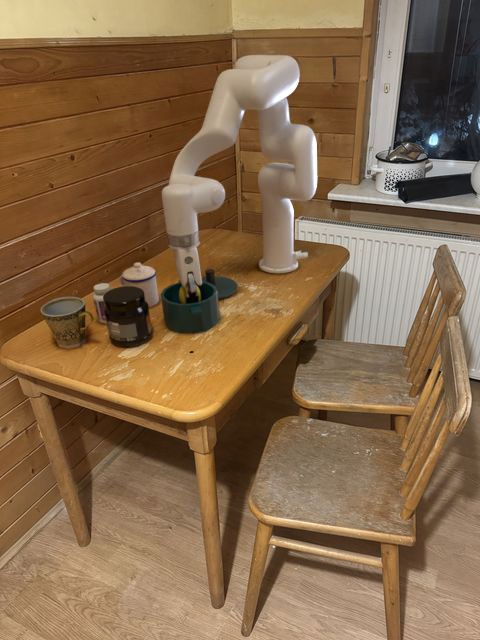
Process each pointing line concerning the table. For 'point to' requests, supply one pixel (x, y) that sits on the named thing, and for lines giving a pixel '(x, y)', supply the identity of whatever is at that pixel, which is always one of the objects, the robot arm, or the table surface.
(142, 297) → the supplement container
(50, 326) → the ceramic cup
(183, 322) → the cooker
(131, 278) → the teacup with lid
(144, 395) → the table surface
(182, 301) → the lemon
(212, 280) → the cooker lid
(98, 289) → the pill bottle
